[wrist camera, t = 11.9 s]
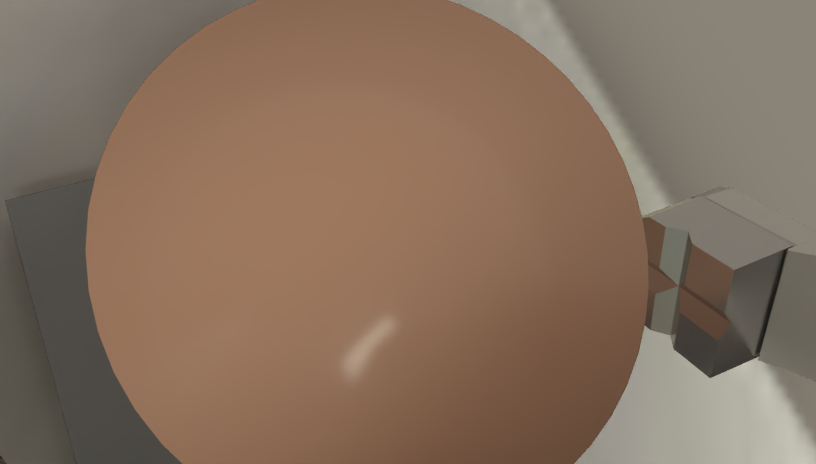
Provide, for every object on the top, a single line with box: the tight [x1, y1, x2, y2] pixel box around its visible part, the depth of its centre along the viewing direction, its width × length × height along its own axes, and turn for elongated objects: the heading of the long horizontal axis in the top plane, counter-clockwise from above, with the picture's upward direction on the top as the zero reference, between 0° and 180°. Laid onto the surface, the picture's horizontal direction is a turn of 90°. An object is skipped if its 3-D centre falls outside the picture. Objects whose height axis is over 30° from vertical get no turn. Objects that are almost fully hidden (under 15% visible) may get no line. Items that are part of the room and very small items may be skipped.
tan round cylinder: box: [85, 0, 649, 464], centre depth 10 cm, size 5×5×9 cm
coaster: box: [5, 179, 182, 464], centre depth 15 cm, size 9×9×1 cm
